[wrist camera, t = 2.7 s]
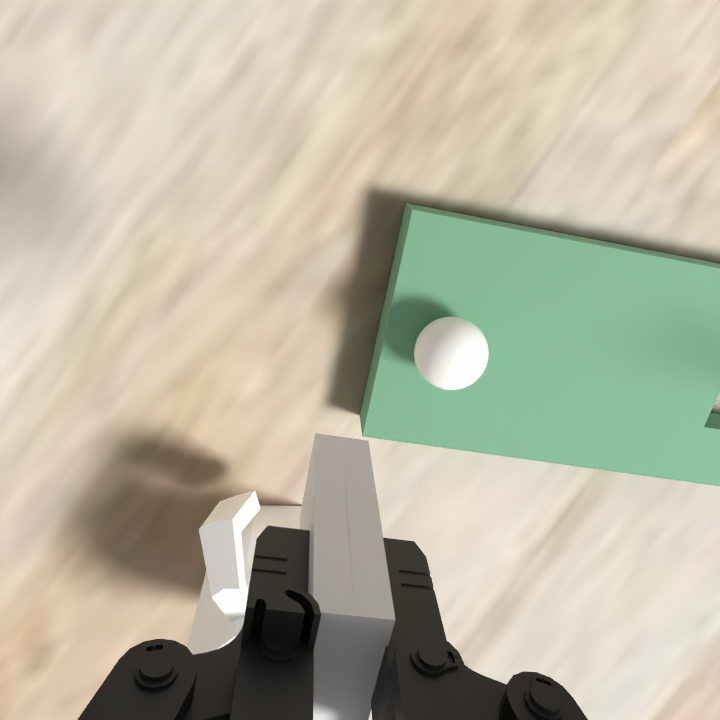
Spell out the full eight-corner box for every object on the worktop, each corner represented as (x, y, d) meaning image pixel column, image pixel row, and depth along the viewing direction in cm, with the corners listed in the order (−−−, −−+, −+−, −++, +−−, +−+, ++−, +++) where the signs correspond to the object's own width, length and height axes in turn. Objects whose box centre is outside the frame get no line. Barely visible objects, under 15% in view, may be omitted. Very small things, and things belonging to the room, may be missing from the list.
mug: (365, 585, 39) (379, 728, 30) (241, 624, 39) (218, 777, 30) (298, 432, 34) (290, 546, 25) (159, 479, 35) (103, 606, 26)
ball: (418, 302, 29) (430, 324, 26) (486, 313, 30) (506, 337, 27) (402, 367, 31) (412, 396, 27) (468, 377, 31) (485, 407, 28)
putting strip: (405, 202, 30) (475, 271, 17) (861, 290, 33) (1223, 406, 20) (359, 415, 34) (386, 606, 21) (767, 474, 38) (1014, 670, 24)
